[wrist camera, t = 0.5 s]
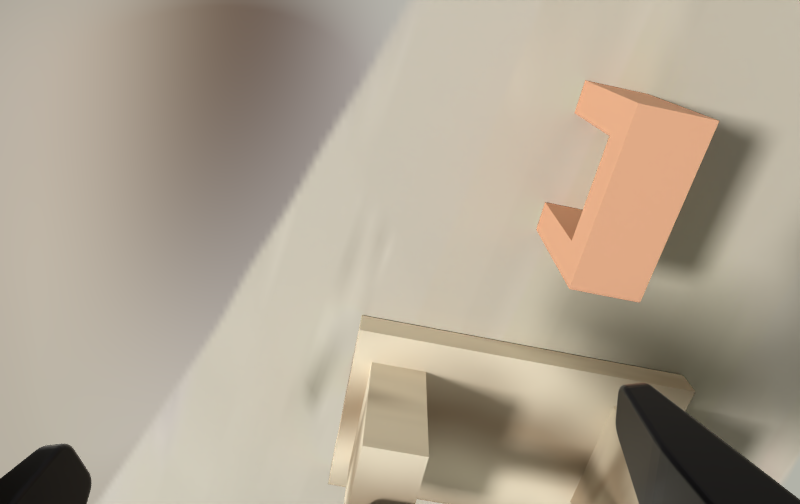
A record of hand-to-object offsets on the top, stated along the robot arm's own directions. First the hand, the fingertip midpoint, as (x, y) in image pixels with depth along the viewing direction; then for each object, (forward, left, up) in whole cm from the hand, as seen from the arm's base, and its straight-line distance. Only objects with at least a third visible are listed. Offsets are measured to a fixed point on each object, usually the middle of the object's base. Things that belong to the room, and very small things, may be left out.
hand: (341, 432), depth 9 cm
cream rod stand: (-11, -8, -14) cm, 19 cm away
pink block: (+2, -8, -14) cm, 16 cm away
